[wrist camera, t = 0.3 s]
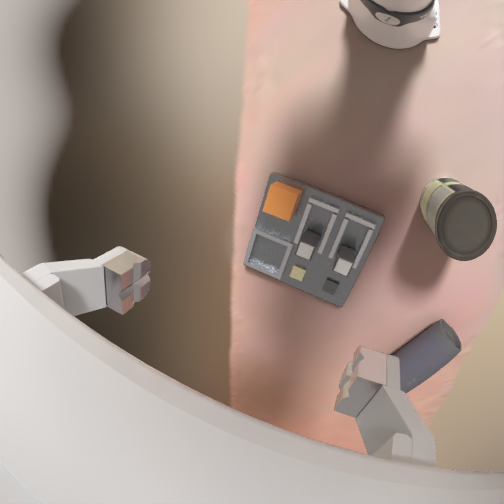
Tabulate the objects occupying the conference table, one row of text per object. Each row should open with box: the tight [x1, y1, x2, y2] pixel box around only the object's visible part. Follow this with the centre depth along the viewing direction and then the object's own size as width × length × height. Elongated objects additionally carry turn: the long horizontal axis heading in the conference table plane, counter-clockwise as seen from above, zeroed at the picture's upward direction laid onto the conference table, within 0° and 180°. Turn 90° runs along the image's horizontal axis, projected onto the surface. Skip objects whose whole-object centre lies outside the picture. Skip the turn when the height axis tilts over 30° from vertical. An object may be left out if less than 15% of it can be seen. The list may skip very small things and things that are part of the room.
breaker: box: [332, 244, 356, 277], centre depth 52 cm, size 3×3×6 cm
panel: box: [243, 172, 384, 307], centre depth 57 cm, size 20×22×3 cm
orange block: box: [263, 181, 302, 222], centre depth 53 cm, size 5×5×4 cm
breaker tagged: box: [294, 230, 321, 261], centre depth 53 cm, size 3×3×6 cm
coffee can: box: [420, 177, 497, 261], centre depth 40 cm, size 10×10×14 cm
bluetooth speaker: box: [392, 319, 461, 394], centre depth 54 cm, size 23×9×10 cm, turn 147°
